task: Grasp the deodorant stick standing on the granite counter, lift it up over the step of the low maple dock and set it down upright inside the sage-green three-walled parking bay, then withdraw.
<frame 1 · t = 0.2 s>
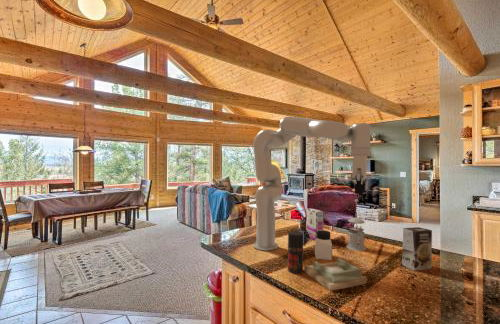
hand: (359, 192, 108), 31 cm above the counter, tool pointing down, fingers open, 9 cm apart
candy bar box: (314, 238, 146), on the counter
dock: (334, 277, 96), on the counter
french press: (356, 248, 130), on the counter
coffee box: (416, 267, 107), on the counter
deodorant: (295, 270, 102), on the counter
medicine bottle: (323, 257, 117), on the counter
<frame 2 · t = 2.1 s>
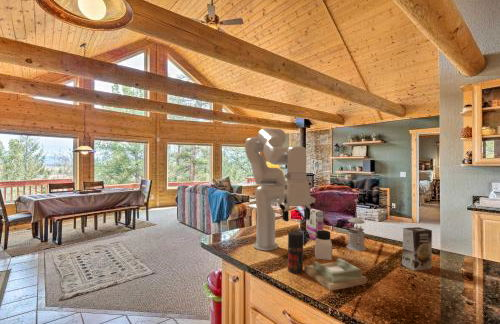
hand: (296, 220, 102), 20 cm above the counter, tool pointing down, fingers open, 9 cm apart
nothing on the counter moved.
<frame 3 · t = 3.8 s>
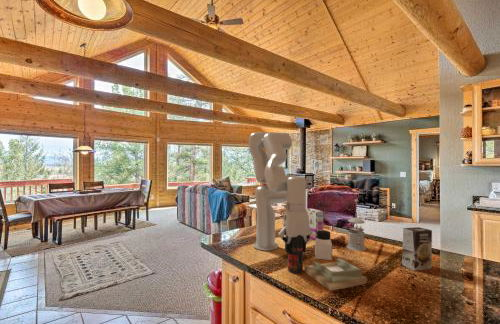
hand: (295, 251, 102), 8 cm above the counter, tool pointing down, fingers closed on deodorant, 6 cm apart
deodorant: (295, 270, 102), on the counter, touching gripper
everything else where it was.
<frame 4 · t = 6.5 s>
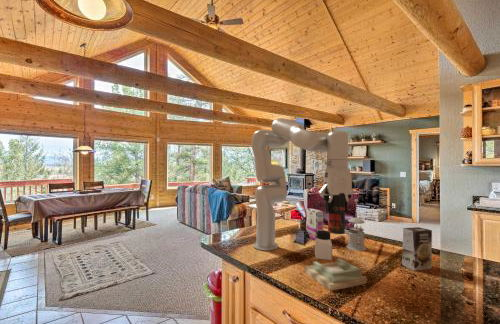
hand: (336, 211, 95), 25 cm above the counter, tool pointing down, fingers closed on deodorant, 6 cm apart
deodorant: (336, 232, 95), point 17 cm above the counter, touching gripper
everything else where it was.
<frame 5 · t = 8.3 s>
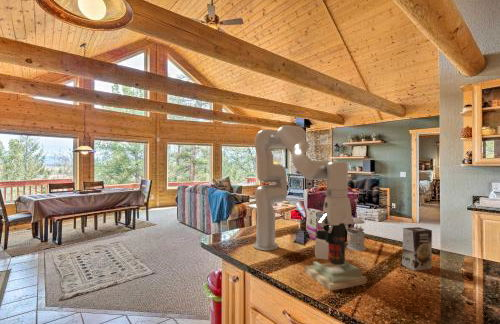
hand: (336, 241, 95), 14 cm above the counter, tool pointing down, fingers closed on deodorant, 6 cm apart
deodorant: (336, 262, 95), point 6 cm above the counter, touching gripper
everything else where it was.
when the fingers open (11 cm above the counter, at t = 9.5 s): deodorant drops 1 cm, resting on dock.
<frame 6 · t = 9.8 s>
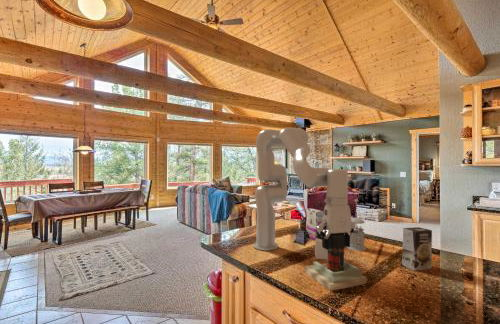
hand: (336, 247, 95), 12 cm above the counter, tool pointing down, fingers open, 9 cm apart
deodorant: (335, 273, 96), point 2 cm above the counter, touching dock
everything else where it was.
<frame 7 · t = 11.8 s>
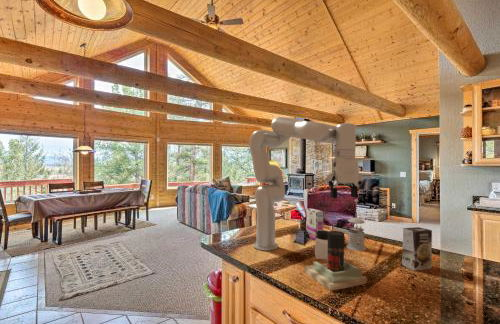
hand: (344, 197, 101), 30 cm above the counter, tool pointing down, fingers open, 9 cm apart
nothing on the counter moved.
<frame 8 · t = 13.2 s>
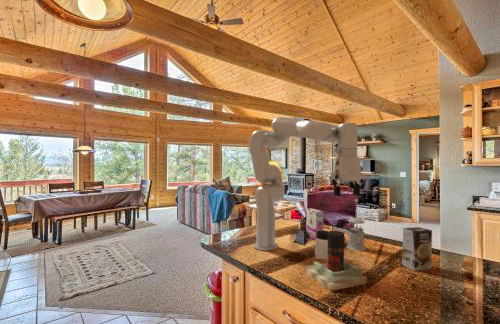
hand: (346, 195, 103), 30 cm above the counter, tool pointing down, fingers open, 9 cm apart
nothing on the counter moved.
at the end: deodorant inside the target area on the dock (0.2 cm from its centre), point 1.9 cm above the dock's base; deodorant tilted 0°; the gripper is holding nothing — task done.
